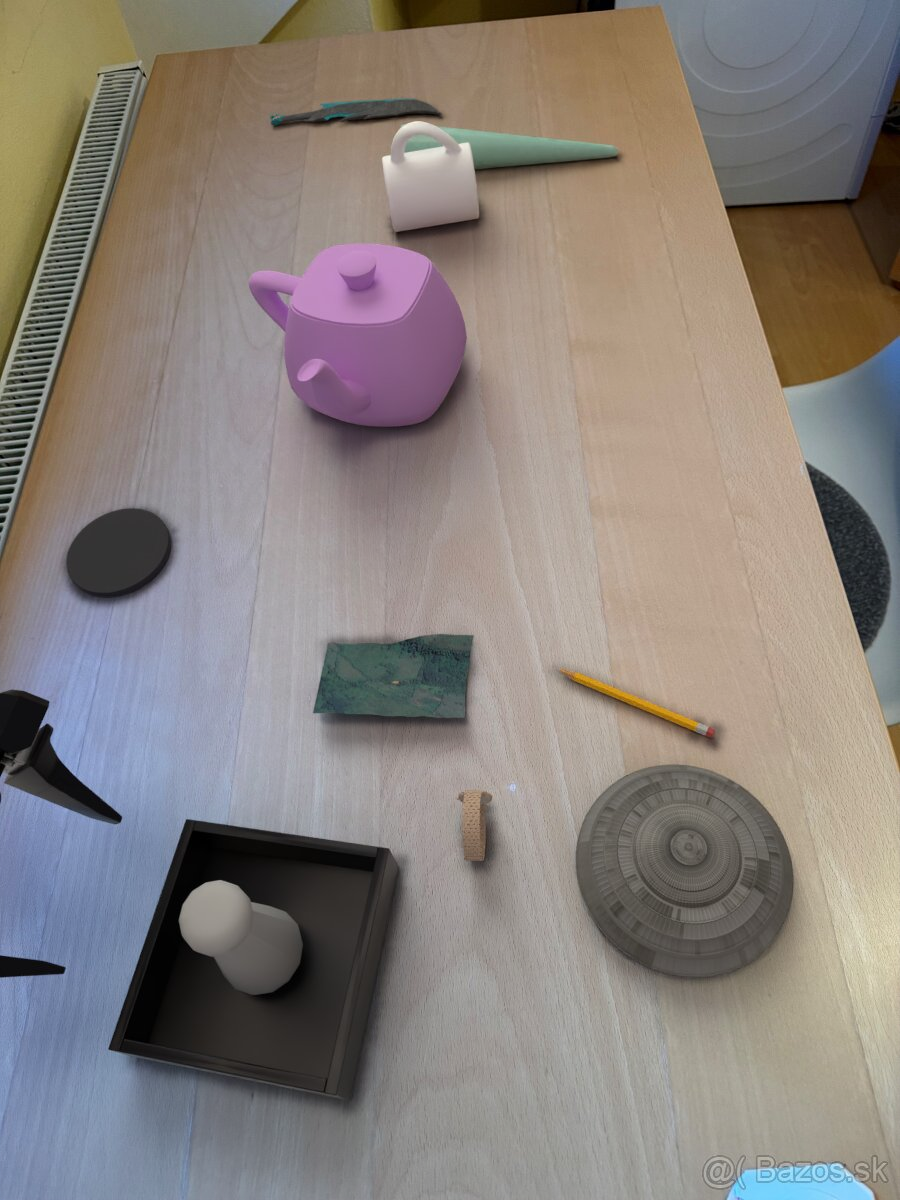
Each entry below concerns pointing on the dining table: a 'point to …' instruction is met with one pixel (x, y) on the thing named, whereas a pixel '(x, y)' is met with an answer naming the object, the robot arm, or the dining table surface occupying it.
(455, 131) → the long green cone
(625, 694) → the pencil
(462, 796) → the perforated watch strap
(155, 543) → the disc
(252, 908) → the salt shaker
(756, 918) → the flying saucer
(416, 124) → the mug
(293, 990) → the tin
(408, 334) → the teapot
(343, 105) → the knife
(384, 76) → the dining table surface
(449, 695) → the terrain model
